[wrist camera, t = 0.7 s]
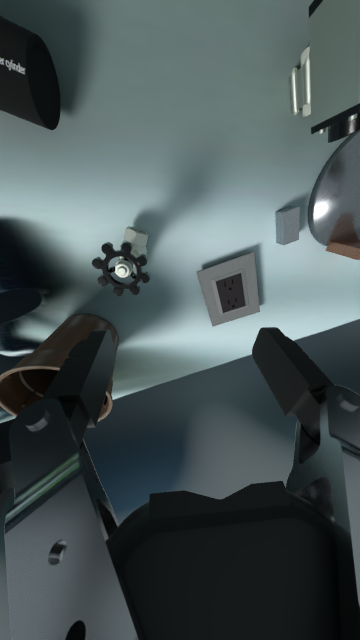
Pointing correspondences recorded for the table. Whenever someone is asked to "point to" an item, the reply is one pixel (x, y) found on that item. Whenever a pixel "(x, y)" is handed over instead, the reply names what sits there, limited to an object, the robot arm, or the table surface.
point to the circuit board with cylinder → (27, 77)
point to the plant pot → (51, 365)
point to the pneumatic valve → (330, 69)
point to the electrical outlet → (230, 289)
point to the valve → (125, 262)
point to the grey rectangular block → (287, 225)
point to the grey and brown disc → (338, 201)
